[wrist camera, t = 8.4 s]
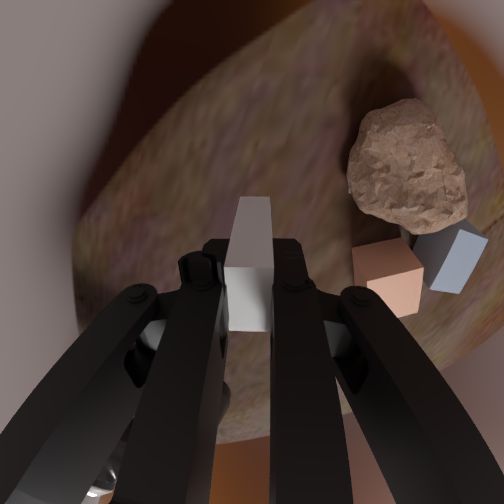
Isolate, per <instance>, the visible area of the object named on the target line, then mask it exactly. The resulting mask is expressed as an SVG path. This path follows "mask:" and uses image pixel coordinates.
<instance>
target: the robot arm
mask: <svg viewBox="0 0 504 504" xmlns="http://www.w3.org/2000/svg"><path fill="white" fill-rule="evenodd" d="M178 266H179V271H180V277H181V283H182V284H181V287H180V289H178V290H176V291H172V292H167V293H161V294H157V290H156V289H155V287H154V286H152V285H150V284H143V283H140V284H134V285H132V286H129V287H127V288H126V289H124V290H123V291H122V292H121V293H120V294H119V295H118V296H117V297H116V298H115V299H114V300H113V301H112V302H111V303H110V304H109V305H108V306H107V307H106V308H105V309H104V310H103V311H102V312H101V313H100V314H99V315H98V317H97V318H96V319H95V320H94V321H93V322H92V323H91V324H90V325H89V326H88V327H87V328H86V329H85V331H84V332H83V333H82V334H81V335H80V336H79V337H78V338H77V339H76V341H75V342H74V343H73V344H72V345H71V346H70V347H69V348H68V350H67V351H66V352H65V353H64V354H63V355H62V356H61V358H60V359H59V360H58V361H57V362H56V363H55V365H54V366H53V367H52V368H51V369H50V371H49V372H48V373H47V374H46V375H45V377H44V378H43V379H42V380H41V381H40V383H39V384H38V385H37V386H36V388H35V389H34V390H33V391H32V393H31V394H30V395H29V396H28V398H27V399H26V400H25V402H24V403H23V404H22V405H21V407H20V408H19V409H18V411H17V412H16V414H15V415H14V416H13V417H12V419H11V420H10V422H9V423H8V424H7V426H6V427H5V429H4V430H3V431H2V433H1V434H0V504H98V501H99V498H100V496H101V495H104V494H107V493H110V492H112V491H113V488H114V485H115V483H116V486H115V490H114V494H113V497H112V500H111V501H110V503H109V504H209V498H210V489H211V480H212V471H213V461H214V453H215V444H216V436H217V428H218V426H219V424H220V422H221V420H222V419H223V417H224V415H225V413H226V411H227V409H228V407H229V404H230V397H231V392H230V390H229V388H228V387H227V385H226V384H225V383H224V382H223V379H224V371H225V363H226V355H227V347H228V335H227V330H228V323H229V331H270V332H271V336H270V354H269V356H270V485H269V486H270V487H269V504H353V495H352V486H351V476H350V468H349V460H348V452H347V446H346V438H345V431H344V425H343V418H342V412H341V406H340V400H339V395H338V389H337V384H336V378H337V380H338V382H339V384H340V386H341V389H342V391H343V393H344V395H345V397H346V399H347V401H348V403H349V405H350V407H351V409H352V411H353V413H354V415H355V417H356V419H357V421H358V423H359V425H360V427H361V429H362V431H363V434H364V436H365V438H366V440H367V442H368V444H369V446H370V448H371V450H372V452H373V455H374V457H375V459H376V461H377V463H378V465H379V467H380V469H381V472H382V474H383V476H384V478H385V480H386V482H387V484H388V487H389V489H390V491H391V493H392V495H393V498H394V500H395V502H396V504H504V475H503V473H502V471H501V469H500V467H499V465H498V463H497V461H496V460H495V458H494V456H493V454H492V452H491V451H490V449H489V447H488V446H487V444H486V442H485V441H484V439H483V437H482V436H481V434H480V432H479V431H478V429H477V427H476V426H475V424H474V423H473V421H472V419H471V418H470V416H469V415H468V413H467V412H466V410H465V409H464V407H463V406H462V404H461V403H460V401H459V400H458V398H457V397H456V395H455V394H454V392H453V391H452V389H451V388H450V386H449V385H448V384H447V382H446V381H445V380H444V378H443V377H442V375H441V374H440V372H439V371H438V370H437V368H436V367H435V366H434V364H433V363H432V361H431V360H430V359H429V357H428V356H427V355H426V353H425V352H424V351H423V350H422V348H421V347H420V346H419V344H418V343H417V342H416V340H415V339H414V338H413V337H412V335H411V334H410V333H409V331H408V330H407V329H406V328H405V326H404V325H403V324H402V323H401V321H400V320H399V319H398V318H397V317H396V315H395V314H394V313H393V312H392V310H391V309H390V308H389V307H388V306H387V304H386V303H385V302H384V301H383V300H382V298H381V297H380V296H379V295H378V294H377V293H376V292H375V291H373V290H371V289H369V288H367V287H363V286H350V287H347V288H345V289H344V290H343V291H342V292H341V295H340V296H338V295H333V294H329V293H325V292H322V291H320V290H318V289H317V288H316V285H315V284H314V282H313V280H311V279H310V278H309V276H308V272H307V268H306V263H305V259H304V255H303V251H302V247H301V244H300V243H299V242H298V241H297V240H296V239H279V238H272V225H271V209H270V197H240V200H239V204H238V208H237V212H236V217H235V221H234V225H233V229H232V234H231V238H230V239H210V240H209V241H208V242H207V243H206V244H204V246H203V249H202V251H195V252H191V253H188V254H186V255H184V256H182V257H181V258H180V259H179V260H178ZM335 376H336V378H335ZM134 415H135V417H134ZM133 417H134V418H133Z"/></svg>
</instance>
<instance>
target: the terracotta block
mask: <svg viewBox="0 0 504 504" xmlns="http://www.w3.org/2000/svg"><path fill="white" fill-rule="evenodd" d="M352 257H353V270H354V285H355V286H363V287H367V288H369V289H371V290H373V291H375V292H376V293H377V294H378V295H379V296H380V297H381V298H382V300H383V301H384V302H385V303H386V304H387V306H388V307H389V308H390V309H391V310H392V312H393V313H394V314H395V315H396V317H397V318H399V317H402V316H406V315H409V314H413V313H416V312H418V307H419V301H420V294H421V287H422V280H423V271H424V267H423V265H422V264H421V263H420V261H419V260H418V259H417V257H416V256H415V254H414V253H413V252H412V250H411V249H410V248H409V246H408V245H407V244H406V243H405V241H404V240H403V239H402V237H400V238H395V239H391V240H386V241H381V242H377V243H372V244H367V245H363V246H358V247H353V248H352Z"/></svg>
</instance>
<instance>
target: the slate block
mask: <svg viewBox="0 0 504 504" xmlns="http://www.w3.org/2000/svg"><path fill="white" fill-rule="evenodd" d="M487 241H488V239H487V238H486V237H485V236H484V235H483V234H481V233H480V232H479V231H478V230H477V229H476V228H475V227H474V226H472V225H471V224H470V223H469V222H468V221H467V220H466V219H463V220H461V221H459V222H457V223H455V224H452V225H449V226H448V227H446V228H444V229H442V230H440V231H436V232H434V233H427V234H419V236H418V238H417V240H416V243H415V245H414V247H413V249H412V252H413V253H414V254H415V256H416V257H417V259H418V260H419V261H420V263H421V264H422V265H423V267H424V271H423V280H424V282H425V283H426V285H427V286H428V288H429V289H431V290H438V291H444V292H451V293H457V294H459V293H460V292H461V290H462V288H463V287H464V285H465V283H466V281H467V280H468V278H469V276H470V274H471V272H472V271H473V269H474V267H475V265H476V263H477V261H478V259H479V257H480V255H481V253H482V251H483V249H484V247H485V245H486V243H487Z"/></svg>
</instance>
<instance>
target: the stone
mask: <svg viewBox="0 0 504 504" xmlns="http://www.w3.org/2000/svg"><path fill="white" fill-rule="evenodd" d="M346 177H347V180H348V187H349V193H351V194H352V196H353V199H354V201H355V202H356V204H357V206H358V207H359V209H360V210H361V211H362V212H363V213H365V214H372V215H374V216H376V217H377V218H382V219H384V220H385V221H387V222H390V223H396V224H399V225H401V226H403V227H404V228H405V229H406V230H408V231H409V232H410V233H411V234H414V235H416V234H427V233H434V232H436V231H440V230H442V229H444V228H446V227H448V226H449V225H452V224H455V223H457V222H459V221H461V220H463V219H464V218H465V217H466V216H467V209H468V202H467V192H466V187H465V180H464V177H465V174H464V171H463V168H462V166H461V165H460V164H459V163H458V161H457V159H456V157H455V154H454V152H453V150H452V149H451V148H450V146H449V145H448V144H447V143H446V140H445V139H444V132H443V129H442V127H441V122H440V120H439V119H438V118H437V116H436V114H435V113H434V112H433V110H432V108H431V107H430V106H429V105H427V104H426V103H424V102H422V101H420V100H418V99H417V98H413V99H402V100H400V101H397V102H395V103H393V104H390V105H388V106H386V107H384V108H382V109H375V110H372V111H370V112H369V113H367V114H366V116H365V117H364V118H363V120H362V121H361V124H360V128H359V134H358V137H357V140H356V142H355V144H354V145H353V147H352V149H351V151H350V154H349V160H348V167H347V173H346Z"/></svg>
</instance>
